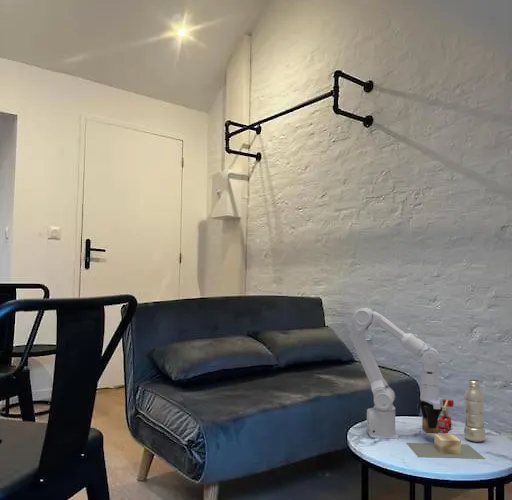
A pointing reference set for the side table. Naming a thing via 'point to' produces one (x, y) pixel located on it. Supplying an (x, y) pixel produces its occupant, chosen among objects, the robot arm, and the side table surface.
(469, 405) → the plastic bottle
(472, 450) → the grey flat rectangular panel
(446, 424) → the toy fire truck
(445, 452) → the birch base block
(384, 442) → the side table surface
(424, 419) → the walnut block
